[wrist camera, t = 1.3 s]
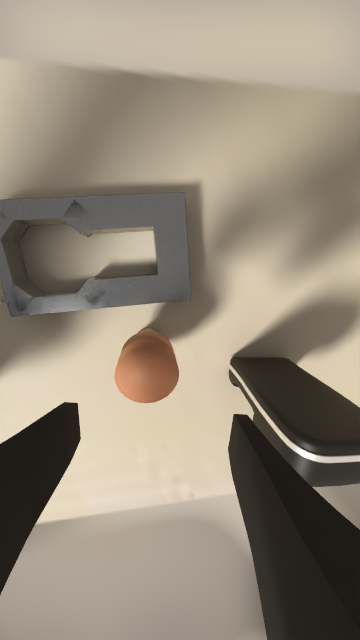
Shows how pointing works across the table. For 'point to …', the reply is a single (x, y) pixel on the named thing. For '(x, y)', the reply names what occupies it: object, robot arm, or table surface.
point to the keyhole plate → (96, 218)
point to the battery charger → (302, 419)
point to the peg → (147, 367)
